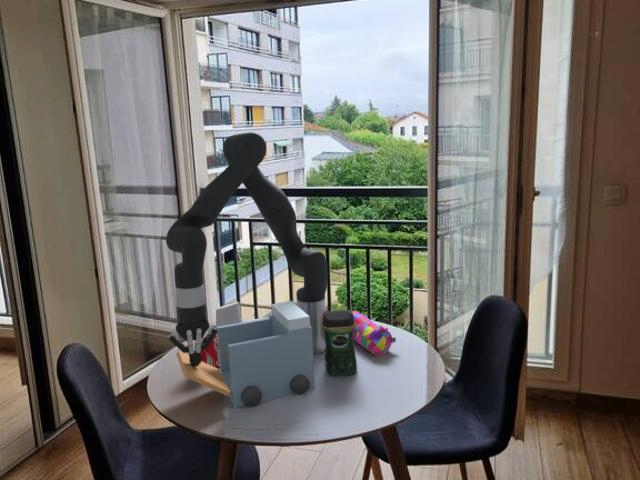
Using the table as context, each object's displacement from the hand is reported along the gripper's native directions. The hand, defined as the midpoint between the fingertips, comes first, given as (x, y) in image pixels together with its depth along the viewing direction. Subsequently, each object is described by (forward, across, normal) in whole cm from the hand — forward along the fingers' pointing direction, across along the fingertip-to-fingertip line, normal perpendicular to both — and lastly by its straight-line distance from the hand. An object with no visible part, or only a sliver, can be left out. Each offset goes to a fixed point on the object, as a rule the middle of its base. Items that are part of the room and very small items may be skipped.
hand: (195, 365), depth 138 cm
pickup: (+10, -19, 0) cm, 21 cm away
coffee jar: (+10, -42, +1) cm, 43 cm away
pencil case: (+10, -58, -13) cm, 60 cm away
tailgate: (+6, -7, 0) cm, 9 cm away
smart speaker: (+10, -18, -38) cm, 43 cm away
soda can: (+10, -7, -18) cm, 22 cm away
